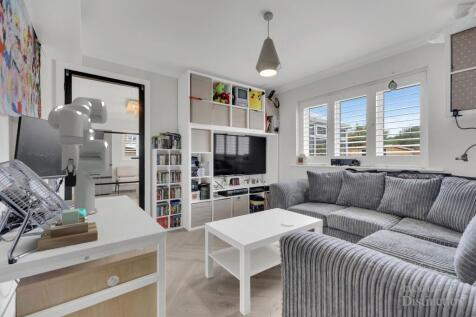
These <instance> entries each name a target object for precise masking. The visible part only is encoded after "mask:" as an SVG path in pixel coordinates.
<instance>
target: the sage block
mask: <svg viewBox="0 0 476 317" xmlns="http://www.w3.org/2000/svg"><path fill="white" fill-rule="evenodd" d="M61 218H62V225H69V224H76V223H79V209H74V208H71V209H64V210H62V214H61Z"/></svg>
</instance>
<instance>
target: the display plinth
mask: <svg viewBox="0 0 476 317" xmlns="http://www.w3.org/2000/svg"><path fill="white" fill-rule="evenodd" d="M45 234H46V235H45ZM98 237H99V236H98V228H97V224H96V221H93V222H92V221H91V222H89V219H88V215H86V216H83V217H79V223H76V224H69V225H62V221H61V222H58V223H57V221H55V222H53V221H52V223H51V226H50V228H44V230H43V231H42V234H41V236H40V238H39V240H38V243H37V251H38V252H42V251H45V250H53V249H56V248H57V249H58V248H62V247H67V246H72V245H73V246H74V245H78V244H84V243H88V242H89V243H90V242H95V241H98V239H99V238H98Z"/></svg>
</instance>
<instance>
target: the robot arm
mask: <svg viewBox="0 0 476 317" xmlns="http://www.w3.org/2000/svg"><path fill="white" fill-rule="evenodd" d="M107 121H108V110H107V105H106V103H105V102H104V100H103V99H100V98H93V97H86V96H85V97H84V96H77V97H75V98H74V99H73V100H72V102H71V103H68V104H62V105H57V106H55V107H53V108H52V109H51V110H50V111H49V113H48V116H47V123H48V125H49V127H50V128H51V129H54V130H58V145H59V146H62V147H61V171H65V179H64V182H65V183H64V185H65V187H66V188H67V187H68V188H70V187H73V209H85V210H86V216H88V215H89V216H90V215H93V214H97V213H98V212H99V210H98V209H97V208H95V201H96V200H95V196H96V195H95V194H96V192H95V191H96V190H95V189H96V188H95V187H96V184H95V183H96V182H95V180H94V178H93V177H92V176H91V175H105V174H107V173H109V170H110V144H109V142H108V141H107V140H105V139H95V133H96V132H95V130H94V129H93V127H92V124H98V125H102V124H105V123H107ZM80 156H89V157H80ZM91 156H92V157H91ZM93 156H95V157H93ZM96 156H98V157H96Z"/></svg>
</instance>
